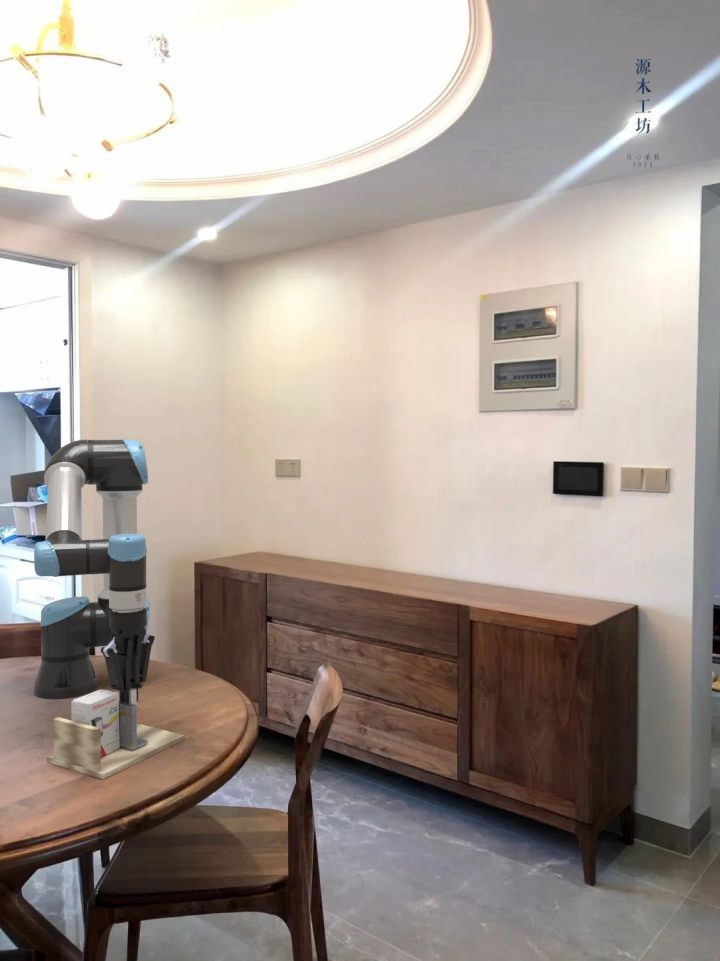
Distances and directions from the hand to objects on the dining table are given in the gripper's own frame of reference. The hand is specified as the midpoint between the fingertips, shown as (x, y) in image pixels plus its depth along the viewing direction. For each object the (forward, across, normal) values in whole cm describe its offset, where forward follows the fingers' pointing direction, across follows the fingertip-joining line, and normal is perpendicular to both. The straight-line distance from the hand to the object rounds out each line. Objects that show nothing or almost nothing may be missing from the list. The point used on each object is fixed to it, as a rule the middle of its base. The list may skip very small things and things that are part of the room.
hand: (129, 719), depth 156 cm
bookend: (+4, -2, 0) cm, 5 cm away
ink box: (+5, -9, 0) cm, 10 cm away
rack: (+5, -4, 0) cm, 6 cm away
